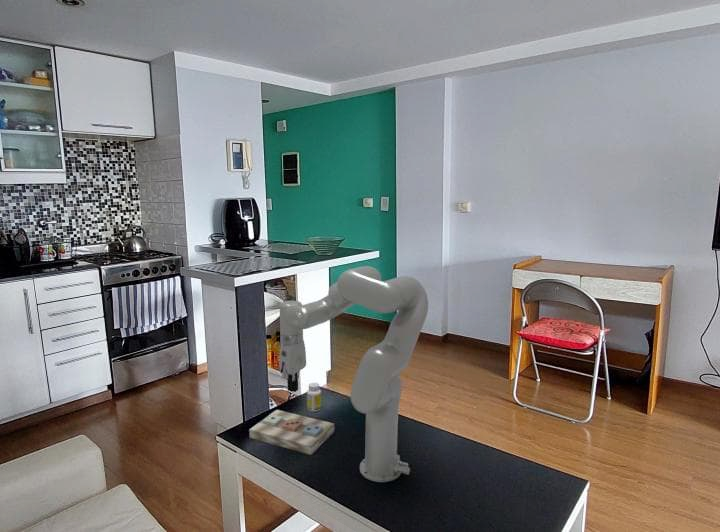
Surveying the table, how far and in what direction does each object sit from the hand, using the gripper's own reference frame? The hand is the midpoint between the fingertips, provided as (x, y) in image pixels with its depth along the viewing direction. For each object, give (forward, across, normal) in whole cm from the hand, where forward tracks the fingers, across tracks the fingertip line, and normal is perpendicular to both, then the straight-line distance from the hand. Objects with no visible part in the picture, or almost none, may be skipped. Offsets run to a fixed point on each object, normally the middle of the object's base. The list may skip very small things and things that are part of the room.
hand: (292, 390), depth 155 cm
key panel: (+16, 0, +1) cm, 16 cm away
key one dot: (+15, 0, +9) cm, 17 cm away
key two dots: (+15, 0, -7) cm, 17 cm away
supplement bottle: (+16, +20, +4) cm, 26 cm away
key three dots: (+15, 0, +1) cm, 15 cm away
